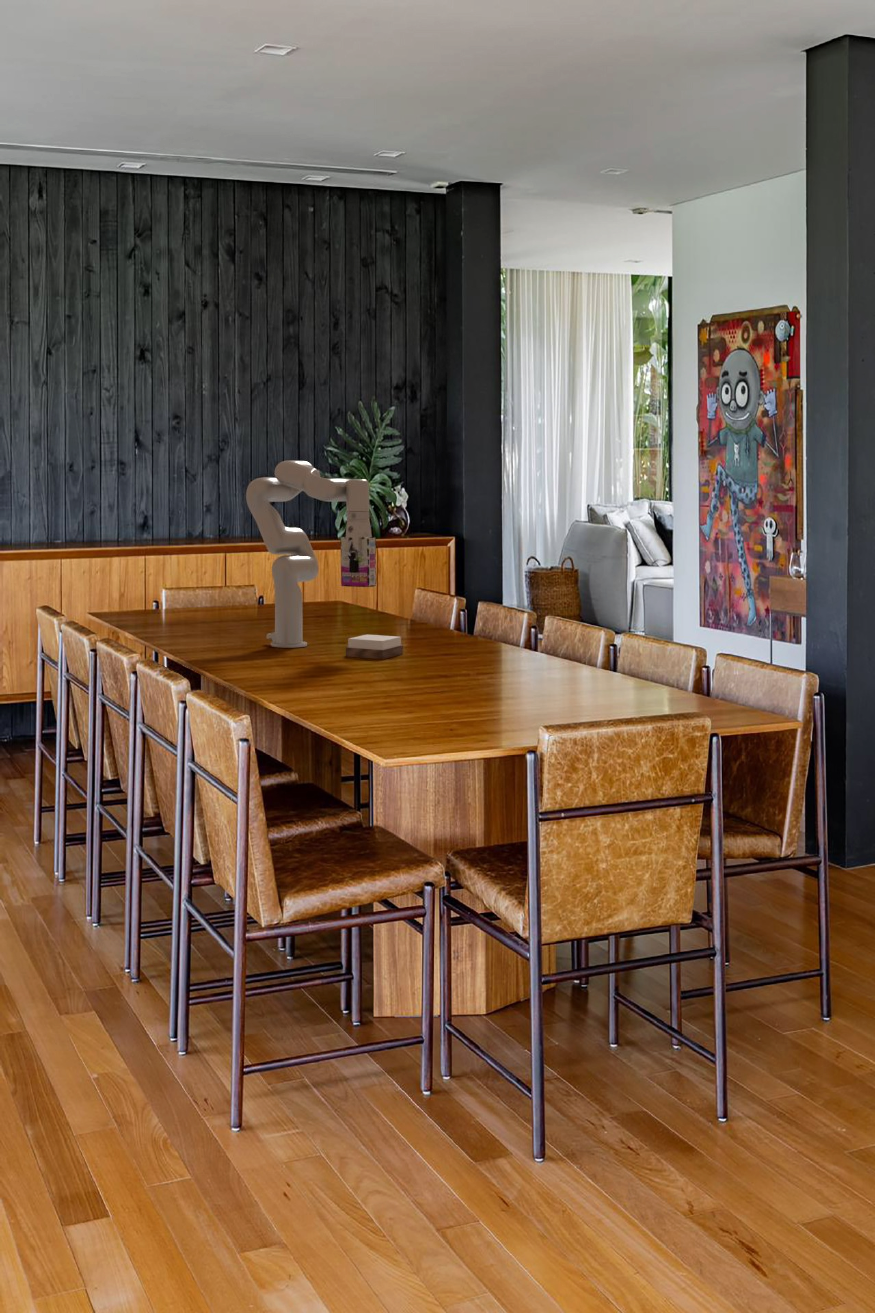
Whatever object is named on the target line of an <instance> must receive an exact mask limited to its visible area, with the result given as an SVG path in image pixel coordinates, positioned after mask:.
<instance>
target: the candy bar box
mask: <svg viewBox="0 0 875 1313" xmlns="http://www.w3.org/2000/svg"><path fill="white" fill-rule="evenodd" d="M376 543H377V542H376V536H372V537H362V551H361V552H359V551H358V558H357V561H359V572H358V573H350V572H349V559H348V558H349V557H348V554H347V553H346V551H345V550H346V536H342V537H340V583H341V584H340V586H341V587H351V588H352V587H353V588H355V587H356V588H373V587H377V561H376V560H377V558H376V554H377V550H376V546H377V544H376ZM352 551H356V550H355V549H352ZM354 555H355V553H354Z"/></svg>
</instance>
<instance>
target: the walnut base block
mask: <svg viewBox="0 0 875 1313" xmlns="http://www.w3.org/2000/svg"><path fill="white" fill-rule="evenodd" d="M403 646H404V645H402V644H401V646H398V647H394V648H390V649H386V650H375V649H361V648H348V646H346V647H345V657H351V658H353V657H354V658H365V659H377V660H378V659H379V660H385V659H389V658H393V657H394V658H395V657H397V656H400V655H403V654H404V653H403V652H404V647H403Z"/></svg>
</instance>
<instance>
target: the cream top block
mask: <svg viewBox="0 0 875 1313" xmlns="http://www.w3.org/2000/svg"><path fill="white" fill-rule="evenodd" d="M347 639H348V642H347V647H348V648H361V649H375V650H386V649H390V648H394V647H398V646H401V645H402V636H396V635H395V636H394V635H380V634H362V635H359V636H354V637H350V638H347Z"/></svg>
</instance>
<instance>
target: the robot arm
mask: <svg viewBox="0 0 875 1313" xmlns="http://www.w3.org/2000/svg"><path fill="white" fill-rule="evenodd" d="M274 476H275V477H272V476H269V477H268V476H266V477H265V476H264V477H258V478H255V479H253V480H252V481H250V482H249V484H248V486H247V489H246V493H245V498H246V499H245V500H246V504H247V507H248V509H249V512H250V513H251V515H252V517H253V519H254V521H255V522H256V525H257V527H258V530H259V532H260V535H261V537H262V539H263V543H264V544H265V547H266V550H267V551H268V552H269V553H270V554H271V555H275V556H279V555H280V556H279V557H277V558H275V560H274V561H273V562H272V566H271V574H272V580H273V586H274V620H275V621H274V632H271V633H267V634H266V637H265V638H266V639H267V640H272V641H271V642H270V646H271V647H273V648H281V649H283V648H284V649H286V648H287V649H292V648H293V649H297V648H304V647H305V648H306V647H307V646H308V642H307V641H303V634H304V633H303V628H304V627H303V593H302V589H301V587H300V585H299V583H301V582H303V583H304V582H310V581H313V580H315V579H316V578H317V576H318V574H319V569H320V568H319V566H320V565H319V562H318V560H317V557H316V554H315V552H314V550H313V549H314V548H313V547H312V545H311V542H310V540H309V539H310V538H309V537H308V535H307V534H306V532H305V531H304V530H303V529H301V528H300V527H295V526H292V527H291V526H290V527H289V526H285V524H284V522H283V520H282V517H281V514H279V512H278V511H277V509H276V508H275V507H274V506H273V505H272V504H271V503H273V502H276V503H277V502H279V503H280V502H288V501H289V502H290V501H291V500H293V499H294V498H295V497H296V496H298V495H299V494H300V493H302V492H304V493H305V494H306V495H307V496H308V497H310V498H313V499H316V500H319V501H323V502H331V503H332V502H346V503H345V504H346V528H345V529H346V530H345V537H346V550H345V551H346V553H347V554H348V557H349V558H348V559H349V572H350V573H358V572H359V561H357V558H358V551H359V552H361V551H362V537H373V535H372V528H371V521H370V483H369V481H368V480H367V479H364V478H362V479H361V478H360V479H358V478H352V479H351V478H325V477H322V476H321V472H320V471H319V470H318V469H317V468H315V467H314V466H313V465H312V464H311V463H310V462H308V461H306V460H284V461H283V460H282V461H281V462H279V463H278V464H277V465H276V466H275V469H274ZM352 549H355V550H356V551H352ZM354 553H355V555H354Z"/></svg>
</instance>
